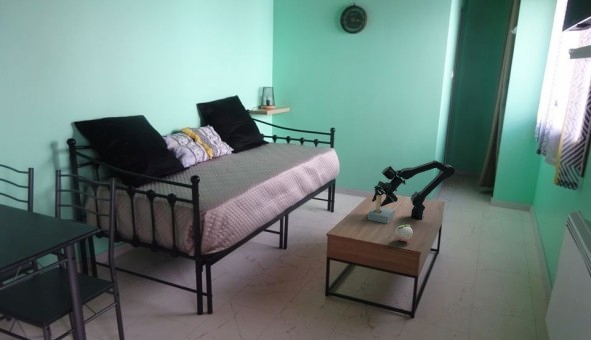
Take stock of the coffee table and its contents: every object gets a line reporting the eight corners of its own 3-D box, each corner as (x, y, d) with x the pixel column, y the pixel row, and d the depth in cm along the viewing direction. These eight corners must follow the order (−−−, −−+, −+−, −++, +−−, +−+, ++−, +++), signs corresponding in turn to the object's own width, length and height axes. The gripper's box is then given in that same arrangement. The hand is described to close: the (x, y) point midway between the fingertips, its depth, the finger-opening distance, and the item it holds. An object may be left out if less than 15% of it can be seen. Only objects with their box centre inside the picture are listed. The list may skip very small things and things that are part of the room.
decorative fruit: (403, 246, 206) (405, 228, 204) (391, 240, 213) (393, 223, 210) (415, 242, 212) (417, 224, 210) (403, 237, 218) (405, 219, 216)
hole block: (394, 215, 251) (395, 209, 250) (387, 223, 237) (387, 217, 236) (375, 211, 256) (376, 205, 255) (367, 219, 243) (368, 213, 242)
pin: (380, 217, 247) (382, 195, 243) (378, 218, 244) (380, 196, 241) (375, 216, 248) (377, 194, 245) (373, 217, 245) (375, 196, 242)
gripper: (378, 172, 250) (361, 191, 248) (395, 180, 233) (377, 200, 232) (387, 184, 254) (371, 202, 253) (405, 192, 238) (387, 212, 236)
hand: (376, 203), depth 243 cm, fingers open, 9 cm apart
